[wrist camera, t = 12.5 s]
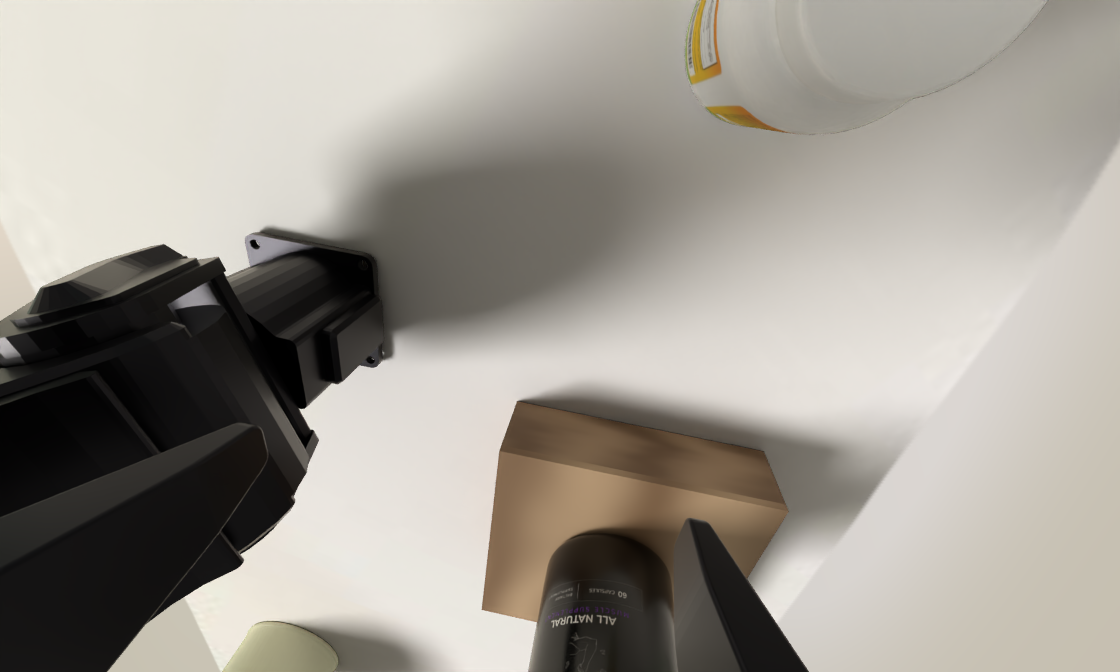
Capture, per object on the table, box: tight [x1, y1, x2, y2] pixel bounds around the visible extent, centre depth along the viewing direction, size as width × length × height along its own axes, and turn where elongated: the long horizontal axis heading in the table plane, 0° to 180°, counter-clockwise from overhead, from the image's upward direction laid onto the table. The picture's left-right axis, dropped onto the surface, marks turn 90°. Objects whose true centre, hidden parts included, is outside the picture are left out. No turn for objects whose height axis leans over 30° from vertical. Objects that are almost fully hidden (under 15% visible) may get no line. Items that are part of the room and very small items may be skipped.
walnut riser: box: [482, 401, 789, 622], centre depth 25 cm, size 14×14×4 cm
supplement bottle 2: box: [685, 0, 1048, 135], centre depth 11 cm, size 5×5×10 cm
